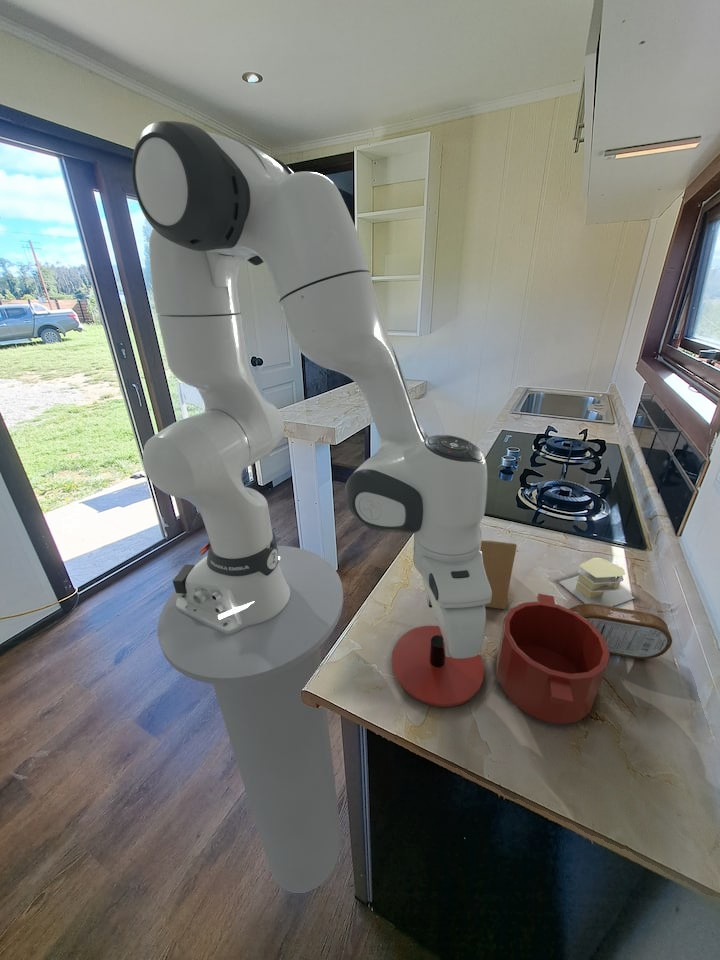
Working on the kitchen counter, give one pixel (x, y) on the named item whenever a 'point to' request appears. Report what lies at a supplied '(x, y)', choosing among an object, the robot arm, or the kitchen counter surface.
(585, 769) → the kitchen counter surface
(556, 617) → the pot
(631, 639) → the tin
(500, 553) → the sandwich container
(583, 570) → the stacked layers on plate
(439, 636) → the lid
